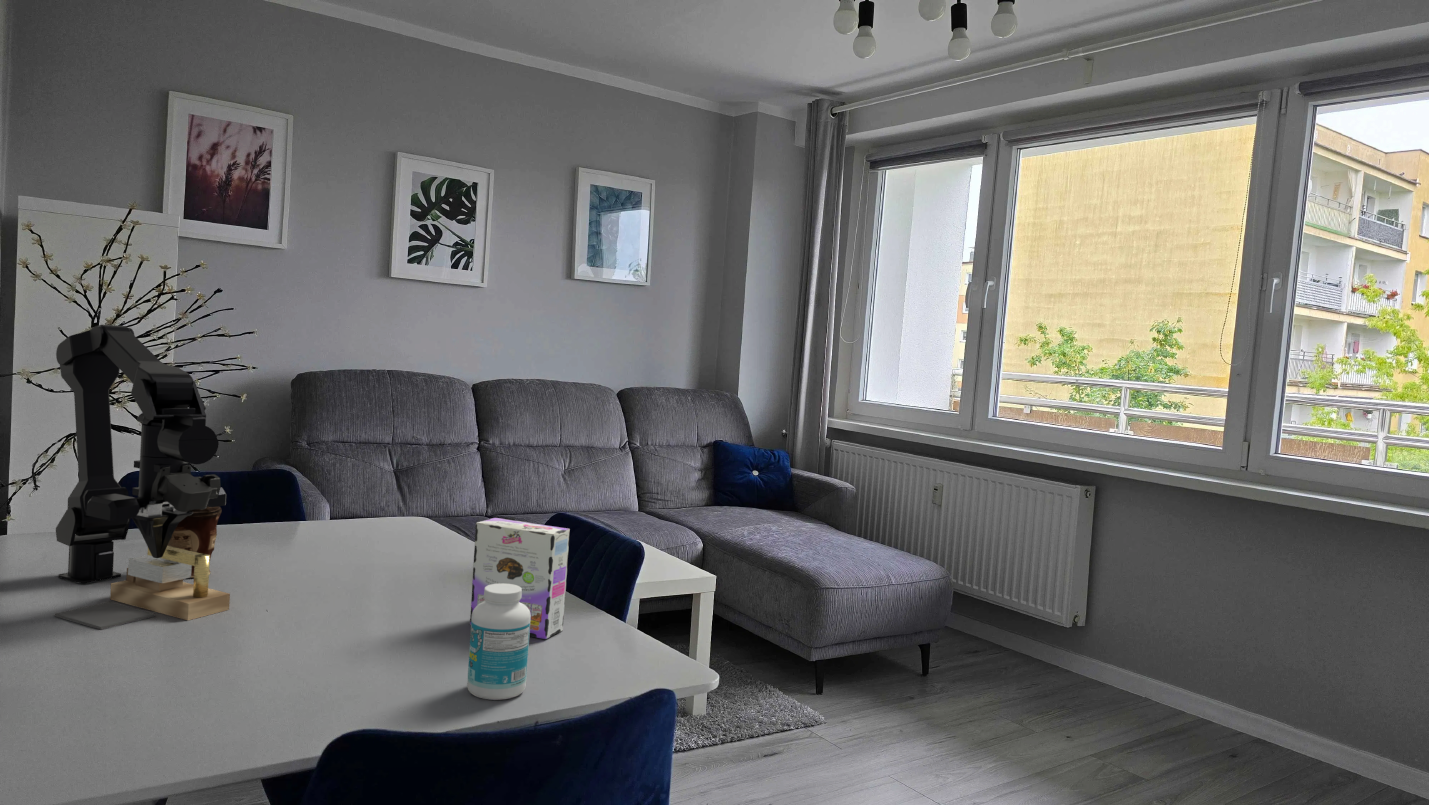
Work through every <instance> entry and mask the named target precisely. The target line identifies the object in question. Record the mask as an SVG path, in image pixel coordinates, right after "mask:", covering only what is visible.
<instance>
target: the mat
mask: <svg viewBox="0 0 1429 805" xmlns="http://www.w3.org/2000/svg"><path fill="white" fill-rule="evenodd" d="M54 617H56V618H59V619H63V620H67V621H70V622H73V623H76V624H80V625H82V626H83V625H84V626H87V627H91V628H94V629H97V630H101V631H102V630H106V629H109V628H110V629H111V628H114V627H118V626H122V625H126V624H129V623H133V622H137V621H141V620H145V619H150V618H154V617H156V613H153V612H150V611H148V610H147V611H146V610H144V609H139V608H135V607H132V606H128V605H125V604H120V603H116V602H115V601H114V602H113V601H111V600H109V601H105V602H100V603H95V604H90V605H87V606H82V607H77V608H74V609H68V610H65V611H60V612H55V613H54Z"/></svg>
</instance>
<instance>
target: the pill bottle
mask: <svg viewBox="0 0 1429 805" xmlns="http://www.w3.org/2000/svg"><path fill="white" fill-rule="evenodd" d="M521 597H522V588H521V587H520V586H517V585H514V584H505V583H500V584H491V585H488V586H486V587H485V589H484V599H485V602H483V603H480V604H479V605H477V606H476V607H475V608H474V610H473V612H472V618H471V625H470V634H469V635H470V636H469V638H470V640H469V651H468V652H469V653H468V668H467V682H466V686H467V690H468V692H469V693H470V694H472V695H473V696H475V697H477V698H480V699H483V700H489V701H490V700H491V701H501V700H508V699H513V698H515V697H518V696H520V695H521V694H522V693H523V692H524V691H525V689H526V685H527V677H528V676H527V675H528V660H529V648H530V646H529V645H530V636H529V635H530V619H531V614H530V611H529V609H528V608H527V607H526V606H525V605H524V604H522V603H520V602H519V601H520V599H521Z"/></svg>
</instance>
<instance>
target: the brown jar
mask: <svg viewBox="0 0 1429 805" xmlns="http://www.w3.org/2000/svg"><path fill="white" fill-rule="evenodd" d="M222 510H223V509H222V507H221V506H217V507H208V506H207V507H206V509H203V510H200V509H195V510H190V511H193V514H192V515H189V516H187V517H185V518H184V519H183V520H182V521H180V522H179V523H178V525H177V527H176V529H175V530H174V532H173V534H172V537H171V539H170V541H169V543H168V545H167V546H171V547H175V548H179V549H184V550H188V551H192V552H197V553H201V554H209V555H210V560H211V557H212V554H213V552H214V550H215V545H216V539H217V535H218V534H217V532H218V529H217V528H218V522H219V519H220V516H221V514H222ZM210 574H211V570H210V568H209V576H210ZM190 578H194V566H192V568H191V577H190Z"/></svg>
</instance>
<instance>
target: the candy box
mask: <svg viewBox="0 0 1429 805" xmlns="http://www.w3.org/2000/svg"><path fill="white" fill-rule="evenodd" d="M570 530H571V529H570V528H568V527H567V528H566V527H559V526H552V525H545V524H539V523H538V524H537V523H533V522H527V521H526V522H525V521H520V520H512V519H507V518H506V519H505V518H500V517H499V518H498V517H493V518H487V519H485V520H481V521H477V522H475V531H474V532H475V534H474V552H473V564H472V565H473V566H472V567H473V568H472V579H471V580H472V582H471V599H470V615H469V616H470V618H469V625H470V626H471V618H472V612H473V610H474V608H475V607H476V606H477V605H479V604H480V603H483V602H485V599H484V589H485V587H486V586H488V585H491V584H500V583H505V584H514V585H517V586H520V587H521V588H522V597H521V599H520V601H519V602H520V603H522V604H524V605H525V606H526V607H527V608H528V609H529V611H530V614H531V619H530V635H529V637H533V638H536V639H543V640H547V639H549V638H551V637H553V636H554V635H557V634H558V633H561V632H562V631H563V629H564V620H565V619H564V617H565V616H564V615H565V604H566V603H565V601H566V590H567V575H568V560H569V559H568V558H569V546H570Z"/></svg>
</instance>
